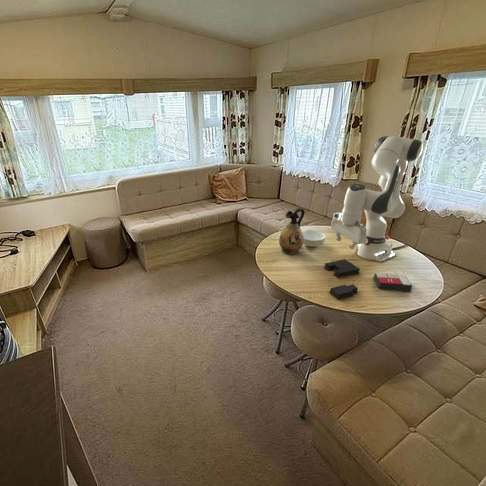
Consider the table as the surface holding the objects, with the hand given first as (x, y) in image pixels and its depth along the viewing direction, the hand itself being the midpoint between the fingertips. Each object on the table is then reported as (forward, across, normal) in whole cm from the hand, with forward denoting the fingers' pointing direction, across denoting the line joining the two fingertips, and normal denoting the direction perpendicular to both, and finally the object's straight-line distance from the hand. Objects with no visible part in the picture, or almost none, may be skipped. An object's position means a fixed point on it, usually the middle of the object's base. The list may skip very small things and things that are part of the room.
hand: (344, 244), depth 149 cm
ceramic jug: (+25, +43, +1) cm, 50 cm away
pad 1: (+24, +12, -13) cm, 30 cm away
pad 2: (+25, -7, 0) cm, 26 cm away
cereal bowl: (+24, +47, -17) cm, 56 cm away
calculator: (+24, -9, -28) cm, 38 cm away
